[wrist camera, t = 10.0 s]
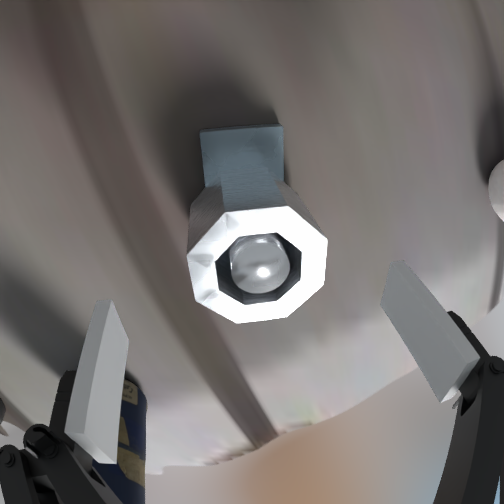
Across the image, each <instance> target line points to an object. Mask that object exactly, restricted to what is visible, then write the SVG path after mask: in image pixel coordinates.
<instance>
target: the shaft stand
mask: <svg viewBox="0 0 504 504" xmlns="http://www.w3.org/2000/svg"><path fill="white" fill-rule="evenodd" d="M200 141H201V151H202V160H203V170H204V179H205V187H206V186H207V185H208V184H209V183H210V181H211V180H212V179H213V178H214V177H215V176H216V174H217V173H218V172H219V171H224V170H234V169H244V168H255V167H267V168H268V169H269V170H271V171H272V172H273V173H274V174H275V175H276V176H278V177H279V178H280V179H281V180H282V181H283V182H284V156H283V126H282V125H281V124H263V125H247V126H234V127H223V128H213V129H203V130H200ZM228 251H229V258H230V266H231V273H232V278H233V280H234V282H235V284H236V285H237V286H238V287H239V288H241V289H242V290H244V291H247V292H250V293H265V292H269V291H272V290H274V289H276V288H277V287H279V286H280V285H281V284H282V283H283V282H284V281H285V280H286V278H287V276H288V274H289V270H290V263H289V260H288V257H287V255H286V252H285V250H284V247H283V245H282V242H281V240H280V237H279V235H278V233H277V232H272V233H263V234H254V235H245V236H239V237H238V238H237V239H236V240H235V241H234V242H233V243H232V244H231V245H230V246H229V247H228Z"/></svg>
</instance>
